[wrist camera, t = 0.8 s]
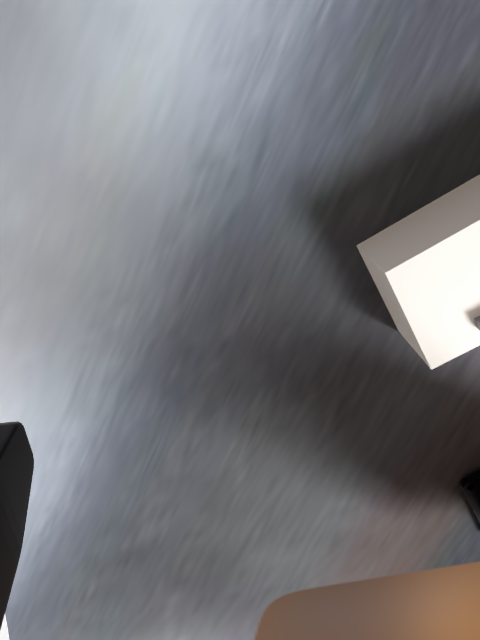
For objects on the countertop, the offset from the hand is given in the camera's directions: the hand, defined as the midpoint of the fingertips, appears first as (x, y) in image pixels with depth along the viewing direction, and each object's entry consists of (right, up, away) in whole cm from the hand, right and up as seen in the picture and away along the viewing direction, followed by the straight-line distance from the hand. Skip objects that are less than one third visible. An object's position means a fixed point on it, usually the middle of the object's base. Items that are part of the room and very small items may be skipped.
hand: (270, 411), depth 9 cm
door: (+10, +6, +14) cm, 18 cm away
